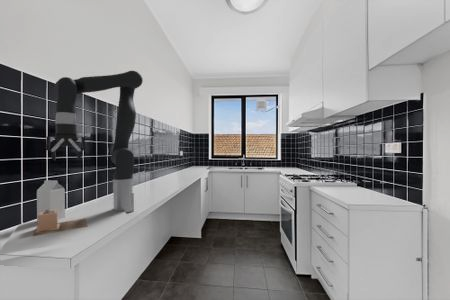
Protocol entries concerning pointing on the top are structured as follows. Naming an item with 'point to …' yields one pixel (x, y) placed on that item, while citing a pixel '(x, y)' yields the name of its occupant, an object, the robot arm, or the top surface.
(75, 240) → the top surface
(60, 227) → the post board
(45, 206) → the milk carton
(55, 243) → the top surface
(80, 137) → the robot arm
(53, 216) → the sleeve
